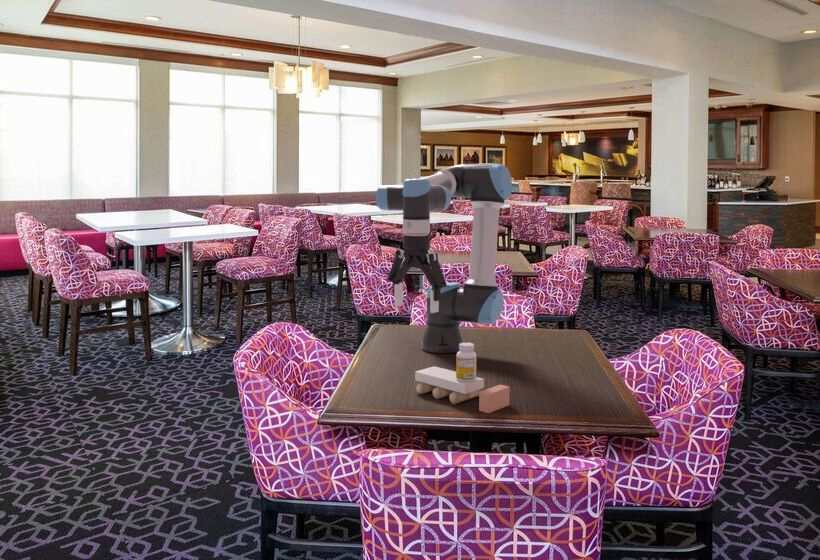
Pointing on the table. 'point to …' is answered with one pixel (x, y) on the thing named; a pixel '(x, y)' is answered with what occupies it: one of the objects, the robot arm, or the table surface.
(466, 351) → the supplement bottle
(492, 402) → the block
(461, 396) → the roller bed
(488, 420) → the table surface
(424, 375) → the slab
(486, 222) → the robot arm
